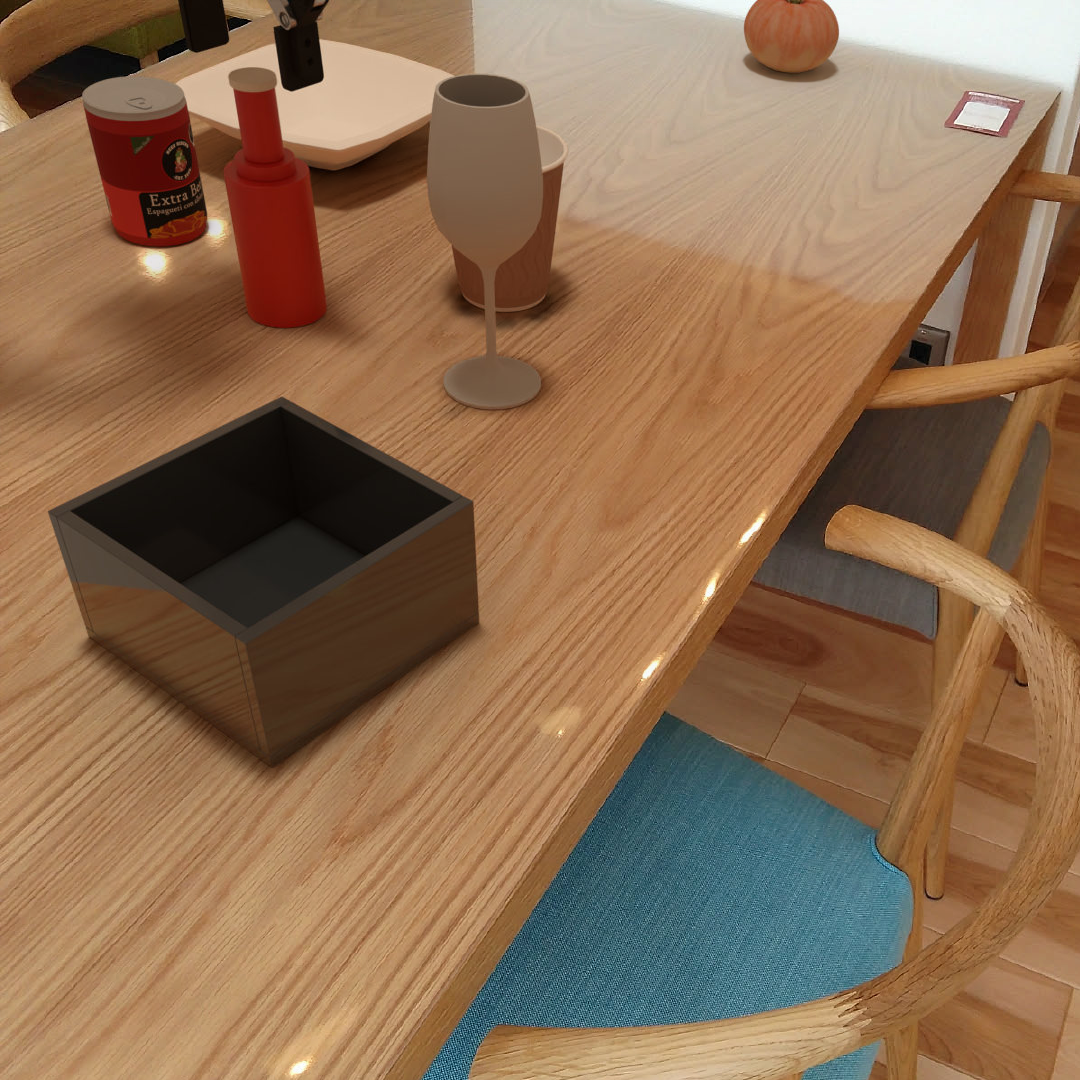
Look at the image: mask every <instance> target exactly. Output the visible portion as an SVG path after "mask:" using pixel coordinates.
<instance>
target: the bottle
mask: <svg viewBox="0 0 1080 1080" xmlns="http://www.w3.org/2000/svg"><path fill="white" fill-rule="evenodd" d="M228 79H229V84H230V86H231V87H232V88H233V91H234V97H235V103H236V109H237V115H238V122H239V128H240V134H241V140H240V141H241V145H242V148H241V149H239V150H238V151H236V152H235V154H234V156H233V160H231V161H229V162H228V163H227V164H226V165H225V166H224V168H223V171H222V172H223V178H224V184H225V189H226V195H227V200H228V201H227V202H228V206H229V212H230V217H231V225H232V230H233V235H234V236H233V237H234V241H235V248H236V253H237V259H238V263H239V269H240V270H239V271H240V276H241V282H242V288H243V293H244V298H245V305H246V310H247V314H248V316H249V317H250V319H251V320H253V321H254V322H256V323H258V324H261V325H262V326H265V327H271V328H277V329H280V328H281V329H290V328H299V327H303V326H307V325H311V324H313V323H315V322H317V321H319V320H320V319H321V318H322V317H323V316H324V315H326V312H327V310H328V309H327V308H328V305H327V298H326V289H325V281H324V273H323V268H322V267H323V266H322V259H321V258H322V257H321V252H320V251H321V250H320V244H319V236H318V235H319V234H318V227H317V219H316V211H315V204H314V196H313V189H312V188H313V187H312V181H311V172H310V168H309V167H310V166H308V165H307V164H306V163H305V162H303V161H302V160H300V159H298V158H295V155H294V153H293V152H292V151H291V150H289V149H287V148H284V147H283V141H282V134H281V127H280V120H279V112H278V105H277V98H276V91H275V87H276V86H277V77H276V74H275V73H274V72H273V71H271V70H269V69H265V68H259V67H246V68H240V69H236V70H234V71H232V72H230V73H229V75H228Z"/></svg>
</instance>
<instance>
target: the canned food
mask: <svg viewBox="0 0 1080 1080" xmlns="http://www.w3.org/2000/svg"><path fill="white" fill-rule="evenodd" d="M81 98H82V105H83V110H84V114H85V120H86V123H87V127H88V133H89V136H90V139H91V144H92V147H93V152H94V155H95V159H96V160H95V161H96V164H97V168H98V172H99V176H100V180H101V184H102V188H103V193H104V197H105V200H106V204H107V207H108V208H107V209H108V213H109V217H110V220H111V223H112V225H113V228H114V229H115V231H116V232H117V234H118V236H119V237H121V238H122V239H124V240H125V241H127V242H129V243H133V244H136V245H140V246H146V247H159V248H160V247H171V246H172V247H173V246H178V245H183V244H185V243H189V242H191V241H194V240H196V239H198V237H200V236H201V235H203V233H204V232H205V231H206V228H207V226H208V225H207V224H208V211H207V205H206V200H205V193H204V189H203V184H202V183H203V182H202V178H201V171H200V166H199V161H198V156H197V151H196V145H195V139H194V134H193V128H192V123H191V117H190V114H189V112H188V107H187V102H186V98H185V96H184V92H183V90H182V89H181V88H180V87H179V86H178V85H176V84H175V82H171V81H169V80H166V79H162V78H158V77H151V76H139V75H138V76H137V75H133V76H131V75H130V76H118V77H112V78H108V79H103V80H100V81H97V82H95V83H93V84H91V85H89V86H88V87H86V88H85V89H84V90H83V92H82V94H81Z"/></svg>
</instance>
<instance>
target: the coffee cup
mask: <svg viewBox="0 0 1080 1080" xmlns="http://www.w3.org/2000/svg"><path fill="white" fill-rule="evenodd" d="M536 128H537V134H538V141H539V149H540V157H541V165H542V175H543V202H542V211H541V218H540V220H539V223H538V225H537V228H536V230H535V232H534V234H533V235H532V236H531V238H530V239H529V240H528V241H527V242H526V244H525V245H524V246H523V247H522V248H521V249H520V250H519V251H517V252H516V253H515V254H514V255H512V256H511V257H510V258H509V259H507V260H506V261H504V262H503V263H502V264H500V265H499V267H498V269H497V270H496V274H495V281H494V290H495V312H497V313H498V312H500V313H511V312H512V313H513V312H514V313H515V312H521V311H525V310H528V309H531V308H533V307H535V306H537V305H538V304H540V303H541V302H542V301H543V300H544V299H545V297H546V294H547V291H548V285H549V283H550V279H551V278H550V277H551V270H552V261H553V254H554V245H555V237H556V231H557V223H558V213H559V205H560V197H561V189H562V181H563V173H564V165H565V161H566V160H567V157H568V156H569V148H568V144H567V142H566V140H564V138H563V137H561V136H560V135H559V134H557V133H556V132H554V131H552V130H550V129H548V128H546V127H543V126H540V125H537V124H536ZM451 250H452V255H453V262H454V267H455V272H456V278H457V282H458V284H459V287H460V291H461V294H462V296H463V298H464V299H465V300H466V301H467V302H469V303H470V304H472V305H473V306H475V307H477V308H479V309H483V310H485V298H484V281H483V276H482V271H481V270H480V268H479V266H478V265H477V264H476V263H474V262H473V261H471V260H470V259H468V258H467V257H466V256H464V255H463V254H462V253H460V252H459V251H458V250H457V249H455V248H454V247H453V246H452V245H451Z"/></svg>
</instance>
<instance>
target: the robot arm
mask: <svg viewBox="0 0 1080 1080" xmlns="http://www.w3.org/2000/svg"><path fill="white" fill-rule="evenodd" d="M266 1H267V4H268V5H269V7H270V9H271V11H272V12H273V14H274V15H275V17H276V19H277V21H278V23H279V24H280V25H276V26H273V36H274V44H276V50H277V57H278V64H279V71H280V77H281V84H282V87H283V88H284V89H285V90H288V91H290V92H293V91H296V90H299V89H302V88H305V87H308V86H311V85H314V84H317V83H320V82H322V81H323V79H324V72H323V64H322V56H321V48H320V40H319V39H320V34H319V33H320V32H319V23H318V22H320V21H323V18H324V10H325V8H326V6H327V5H328V4H329V2H330V0H290V2H289V1H288V0H266ZM177 2H178V8H179V13H180V19H181V22H182V28H183V33H184V37H185V43H186V48H187V50H188V51H190V52H192V53H195V54H199V53H201V52H205V51H209V50H211V49H215V48H218V47H222V46H226V45H227V44H229V42H230V35H229V29H228V23H227V18H226V12H225V6H224V5H225V4H224V0H177Z"/></svg>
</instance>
